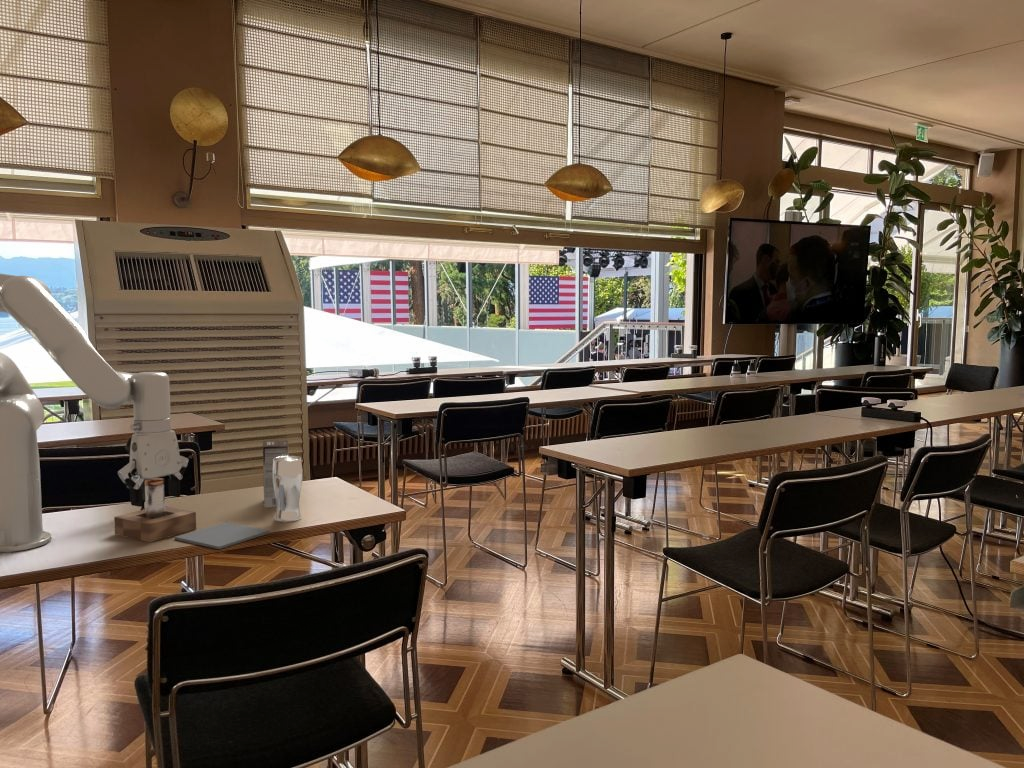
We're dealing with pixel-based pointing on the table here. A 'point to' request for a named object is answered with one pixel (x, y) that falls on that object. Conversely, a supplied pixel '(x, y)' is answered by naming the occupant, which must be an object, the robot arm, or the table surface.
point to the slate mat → (222, 535)
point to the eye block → (155, 524)
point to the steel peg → (155, 498)
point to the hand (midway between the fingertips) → (156, 500)
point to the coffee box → (271, 468)
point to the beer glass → (287, 487)
